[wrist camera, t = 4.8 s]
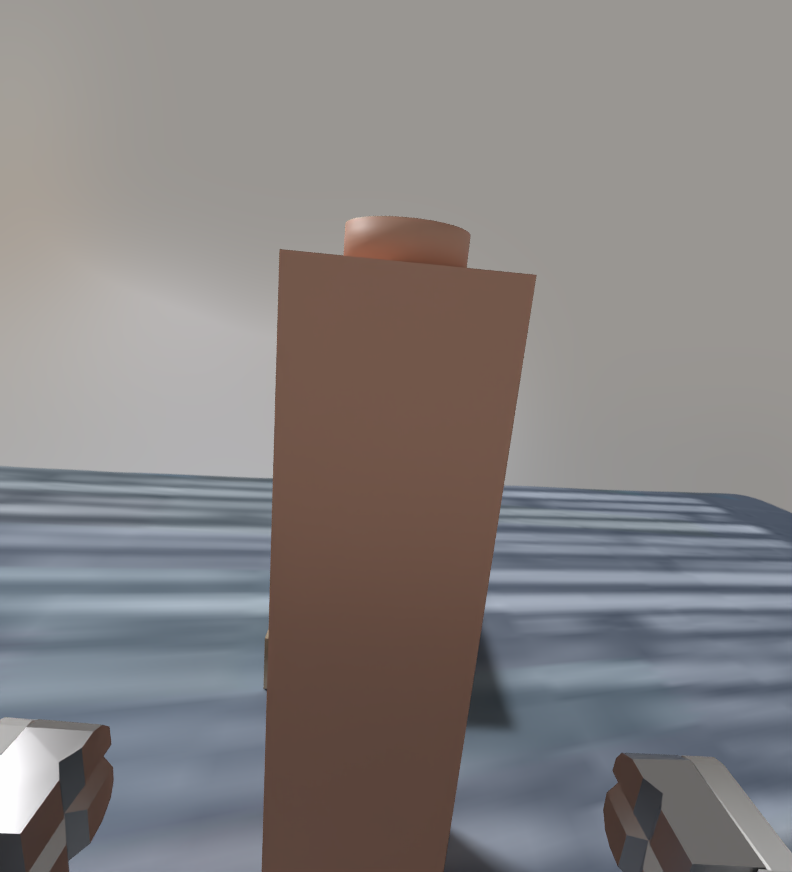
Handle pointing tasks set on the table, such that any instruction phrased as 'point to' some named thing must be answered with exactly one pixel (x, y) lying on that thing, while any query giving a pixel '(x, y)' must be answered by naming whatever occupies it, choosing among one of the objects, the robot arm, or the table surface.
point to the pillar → (382, 537)
